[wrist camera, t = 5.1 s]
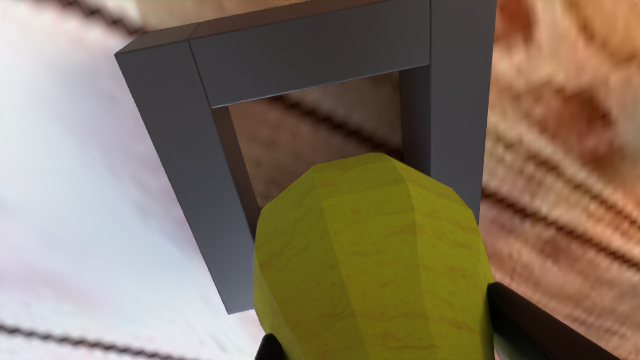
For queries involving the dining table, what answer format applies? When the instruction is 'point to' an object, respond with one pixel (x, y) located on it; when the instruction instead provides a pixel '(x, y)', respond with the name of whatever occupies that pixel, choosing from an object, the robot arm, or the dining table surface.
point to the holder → (298, 74)
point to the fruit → (372, 266)
